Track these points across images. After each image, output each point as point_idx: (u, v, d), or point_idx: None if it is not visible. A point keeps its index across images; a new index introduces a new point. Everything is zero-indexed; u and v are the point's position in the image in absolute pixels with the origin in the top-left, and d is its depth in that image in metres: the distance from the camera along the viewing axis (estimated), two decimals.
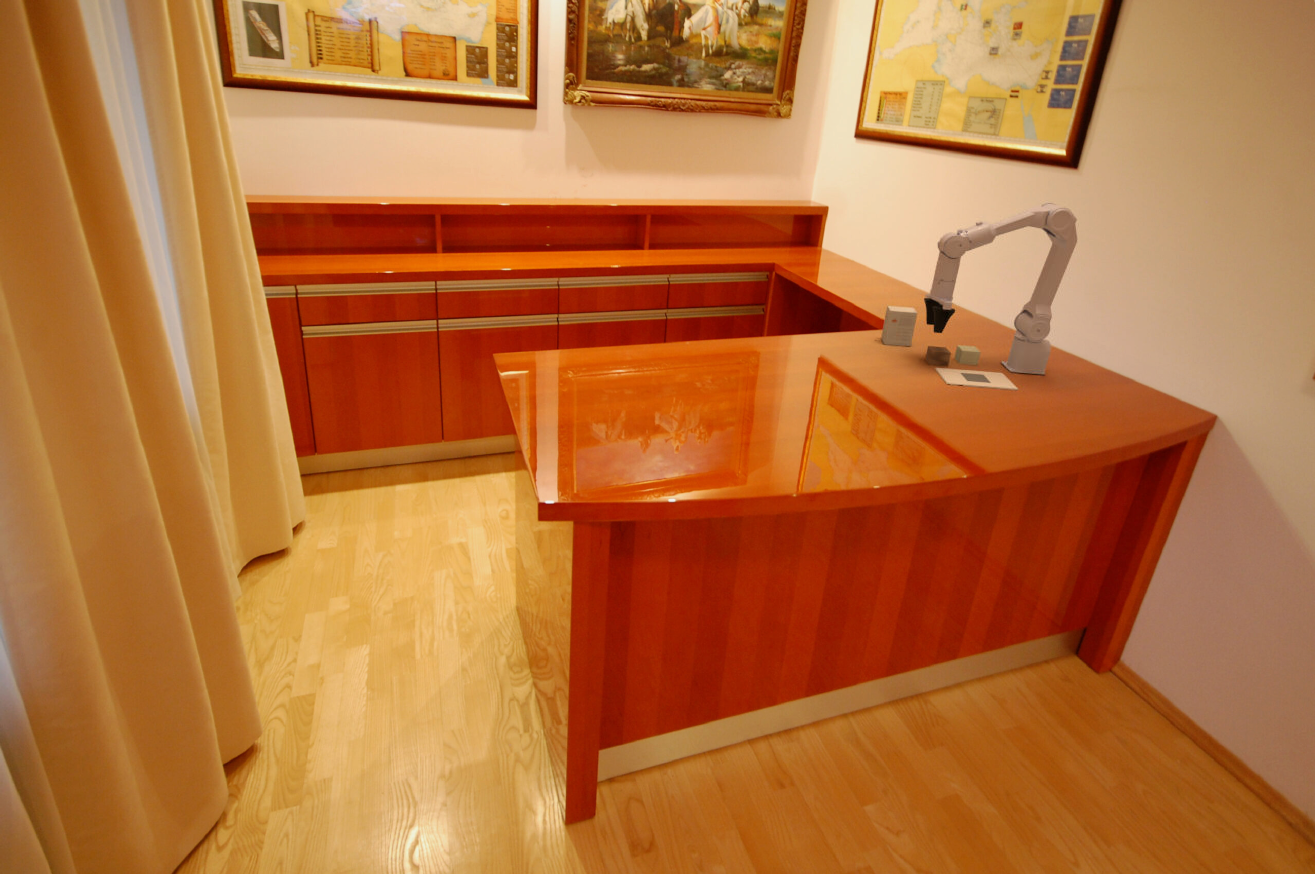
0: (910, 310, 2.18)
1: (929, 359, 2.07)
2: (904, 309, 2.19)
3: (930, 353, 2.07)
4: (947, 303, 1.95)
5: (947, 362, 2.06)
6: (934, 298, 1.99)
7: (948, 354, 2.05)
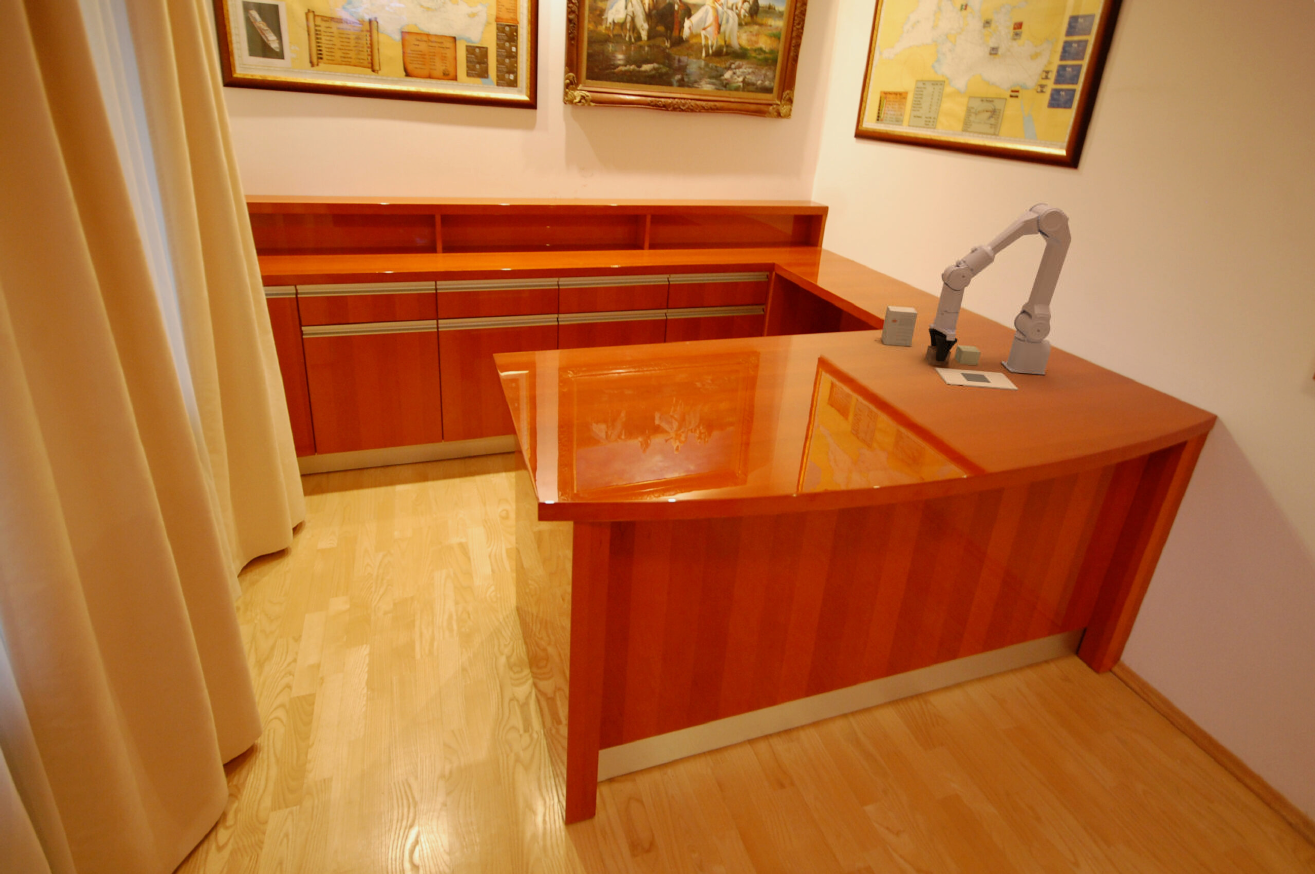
0: (910, 310, 2.18)
1: (929, 358, 2.07)
2: (904, 309, 2.19)
3: (930, 352, 2.07)
4: (951, 334, 1.98)
5: (947, 361, 2.06)
6: (938, 328, 2.03)
7: (948, 353, 2.05)
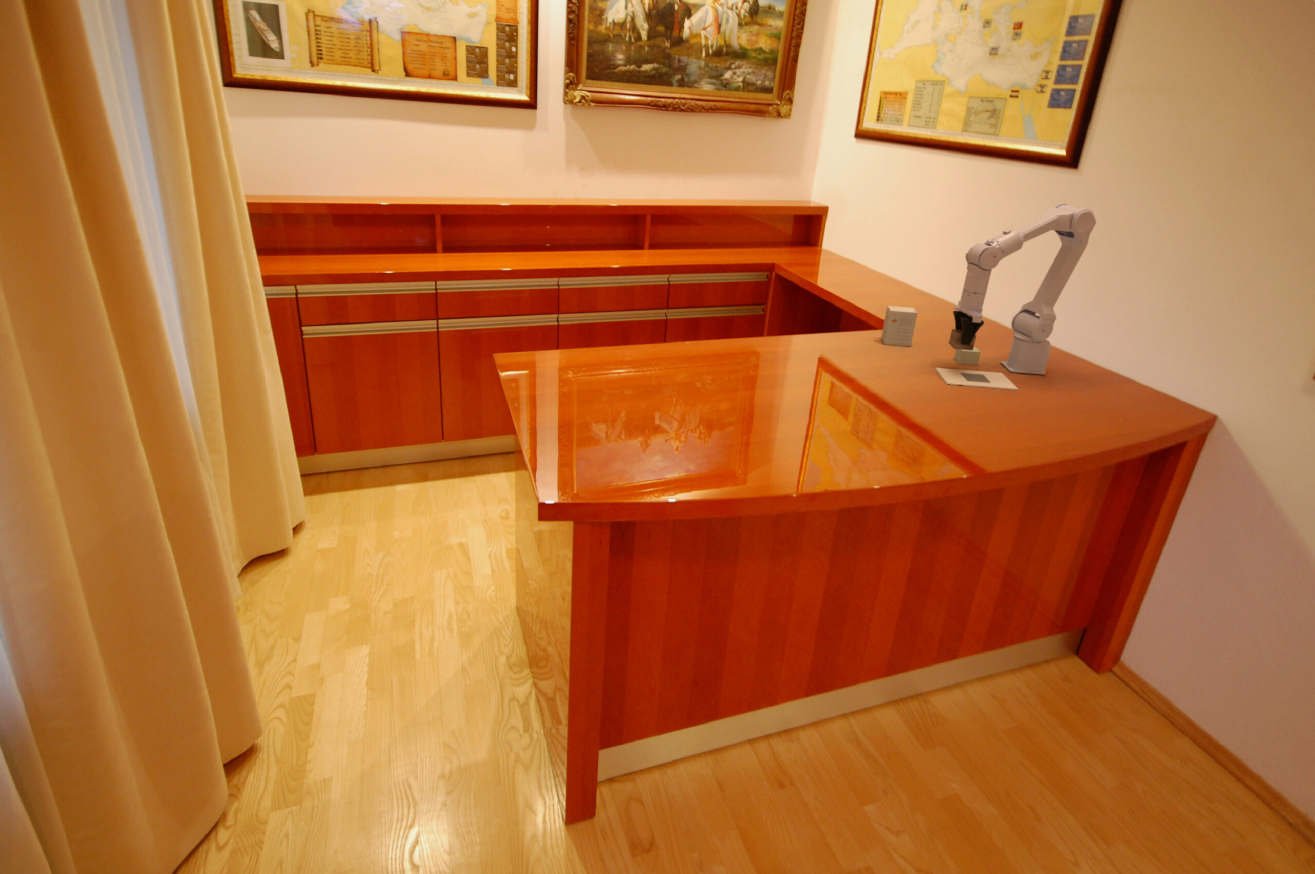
0: (910, 310, 2.18)
1: (953, 342, 1.99)
2: (904, 309, 2.19)
3: (954, 336, 1.99)
4: (977, 316, 1.90)
5: (972, 345, 1.98)
6: (963, 310, 1.94)
7: None
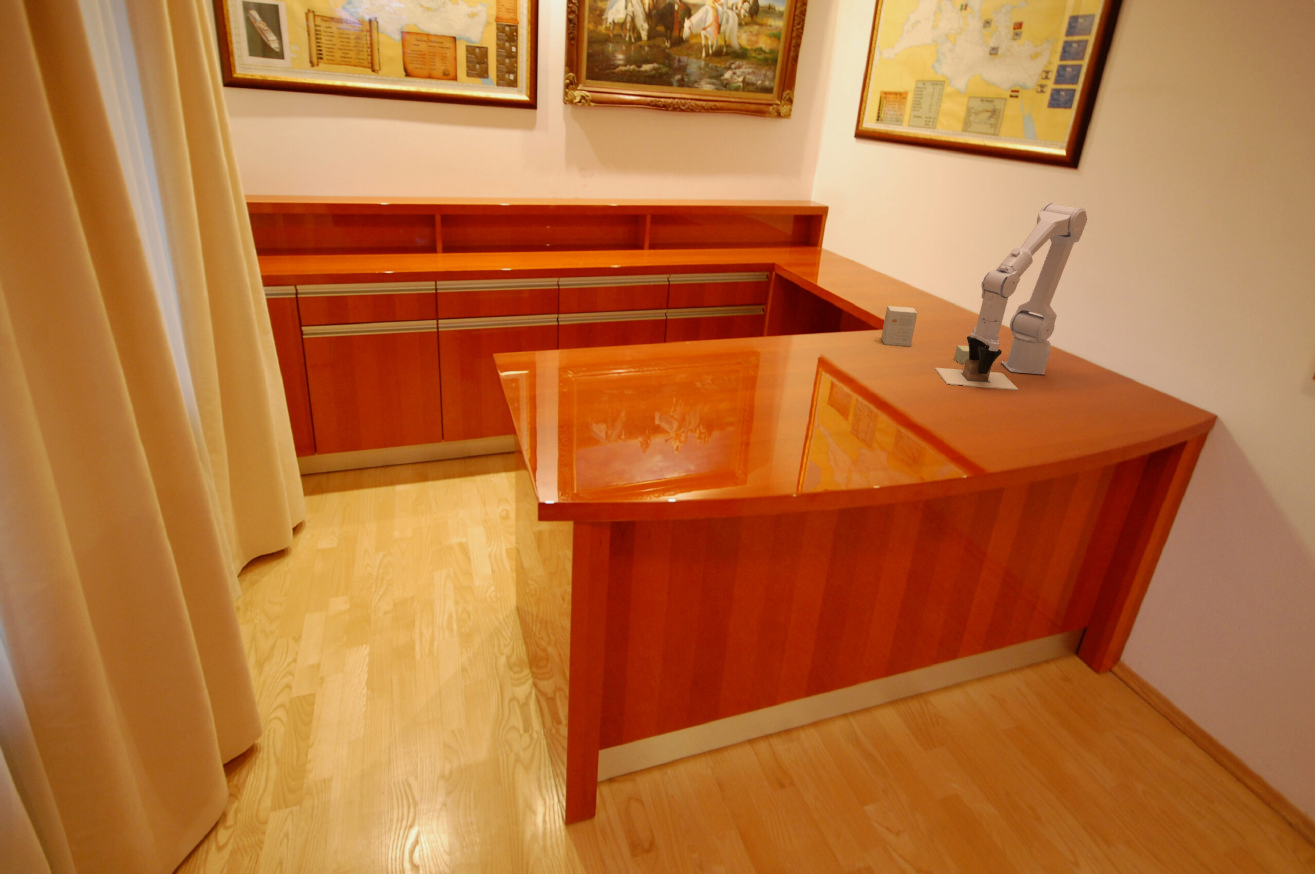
0: (910, 310, 2.18)
1: (968, 373, 1.96)
2: (904, 309, 2.19)
3: (969, 367, 1.96)
4: (994, 344, 1.86)
5: (987, 377, 1.95)
6: (979, 338, 1.91)
7: None
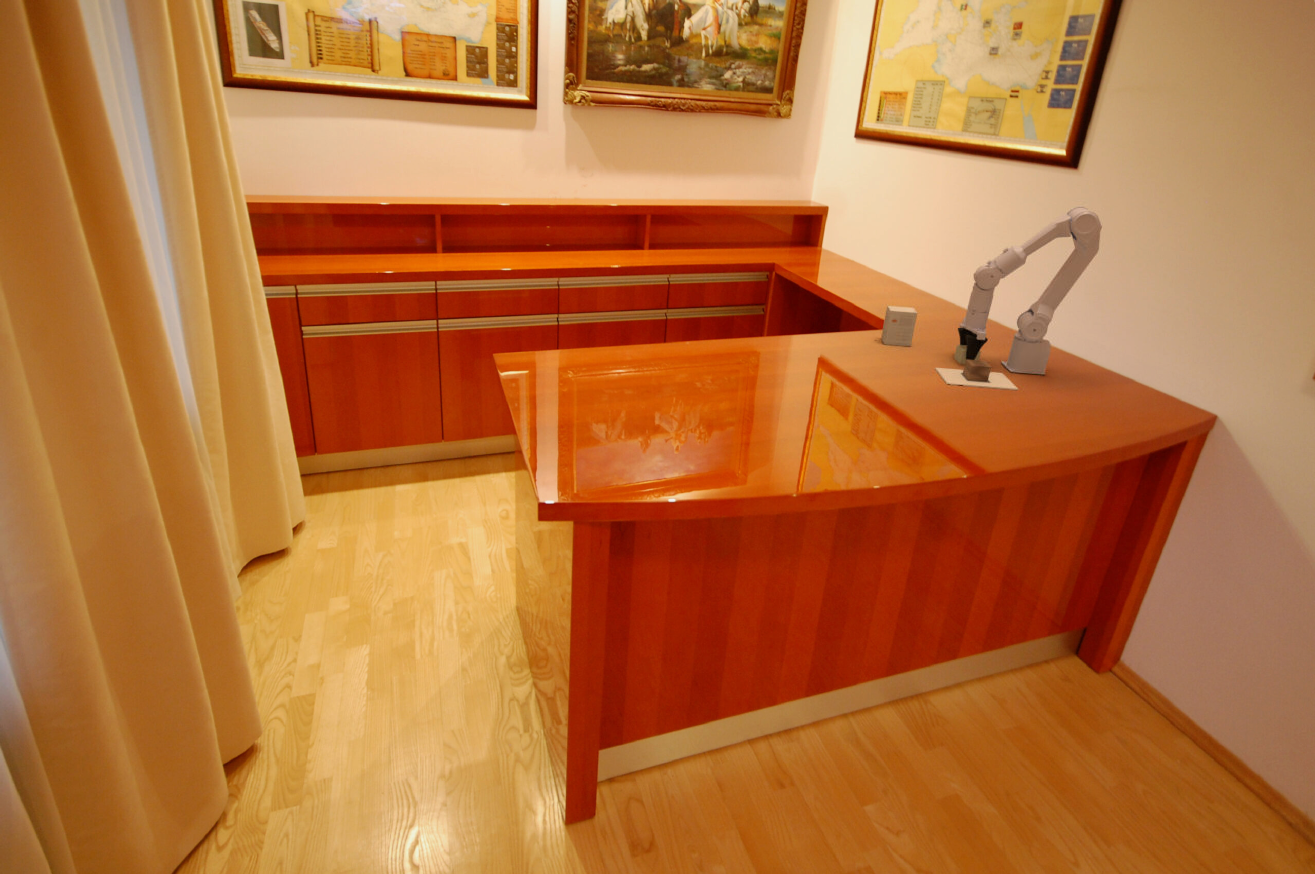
0: (910, 310, 2.18)
1: (968, 373, 1.96)
2: (904, 309, 2.19)
3: (969, 367, 1.96)
4: (981, 333, 2.00)
5: (987, 377, 1.95)
6: (968, 328, 2.05)
7: (988, 368, 1.94)
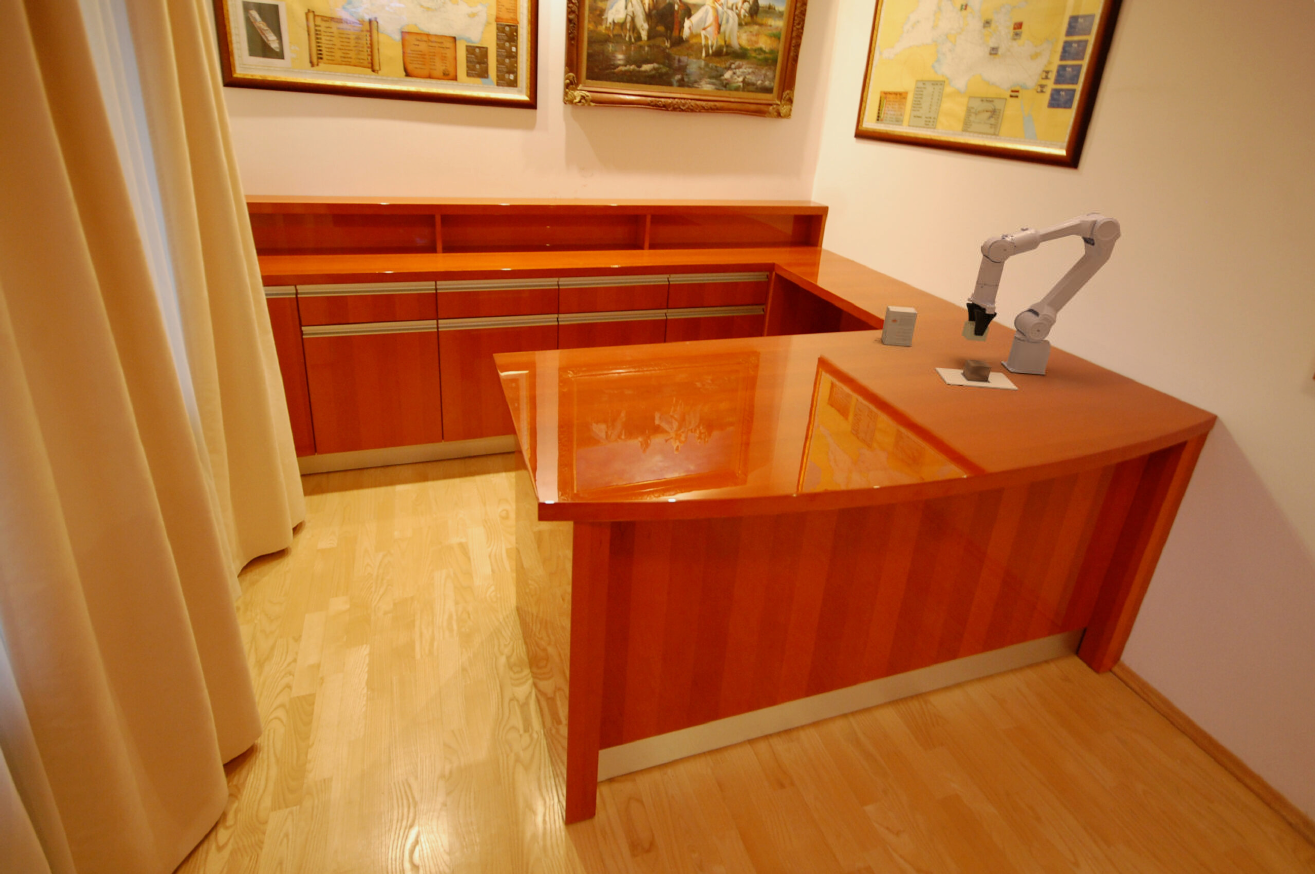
0: (910, 310, 2.18)
1: (968, 373, 1.96)
2: (904, 309, 2.19)
3: (969, 367, 1.96)
4: (990, 307, 1.94)
5: (987, 377, 1.95)
6: (977, 302, 1.99)
7: (988, 368, 1.94)
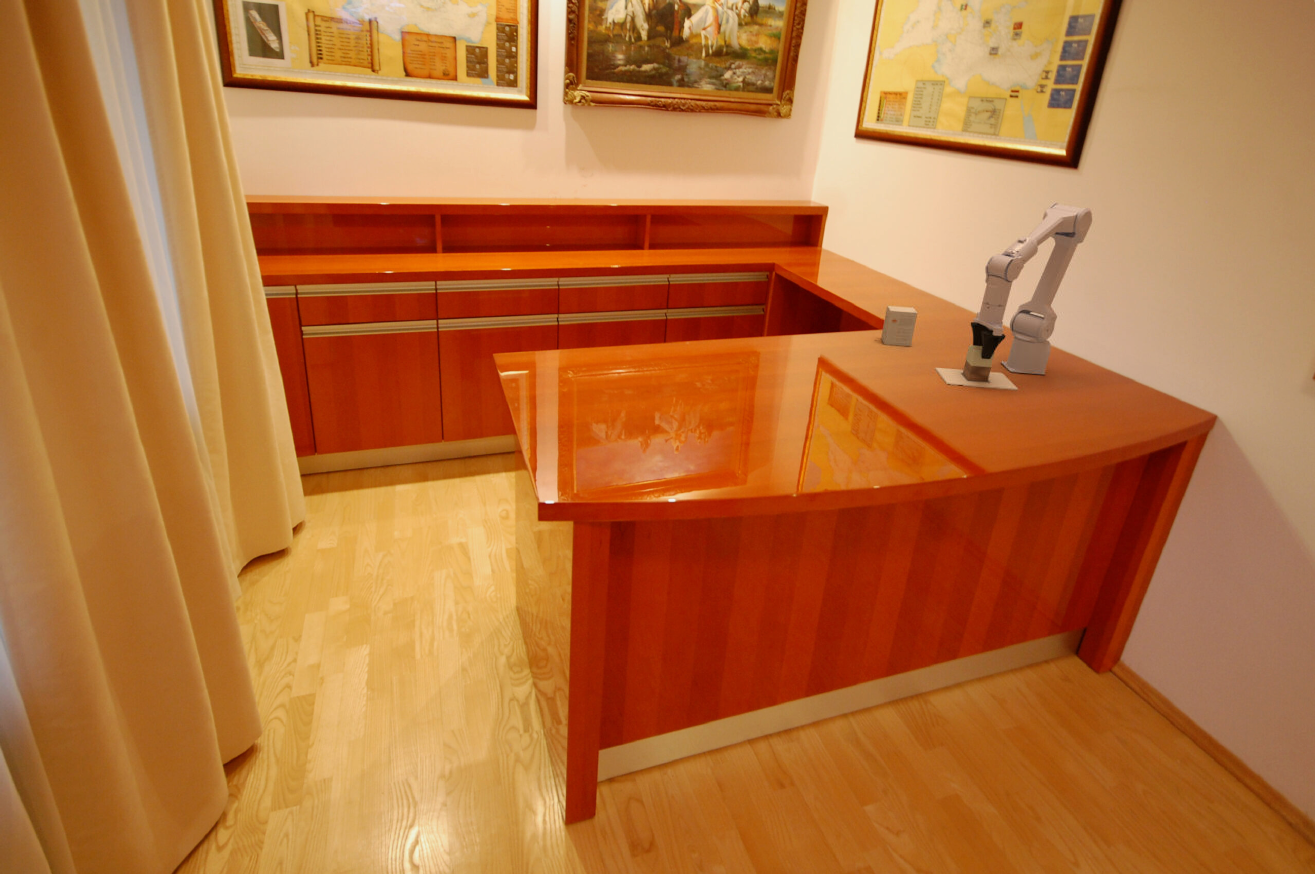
0: (910, 310, 2.18)
1: (968, 373, 1.96)
2: (904, 309, 2.19)
3: (969, 367, 1.96)
4: (998, 329, 1.85)
5: (987, 377, 1.95)
6: (983, 323, 1.89)
7: (988, 368, 1.94)
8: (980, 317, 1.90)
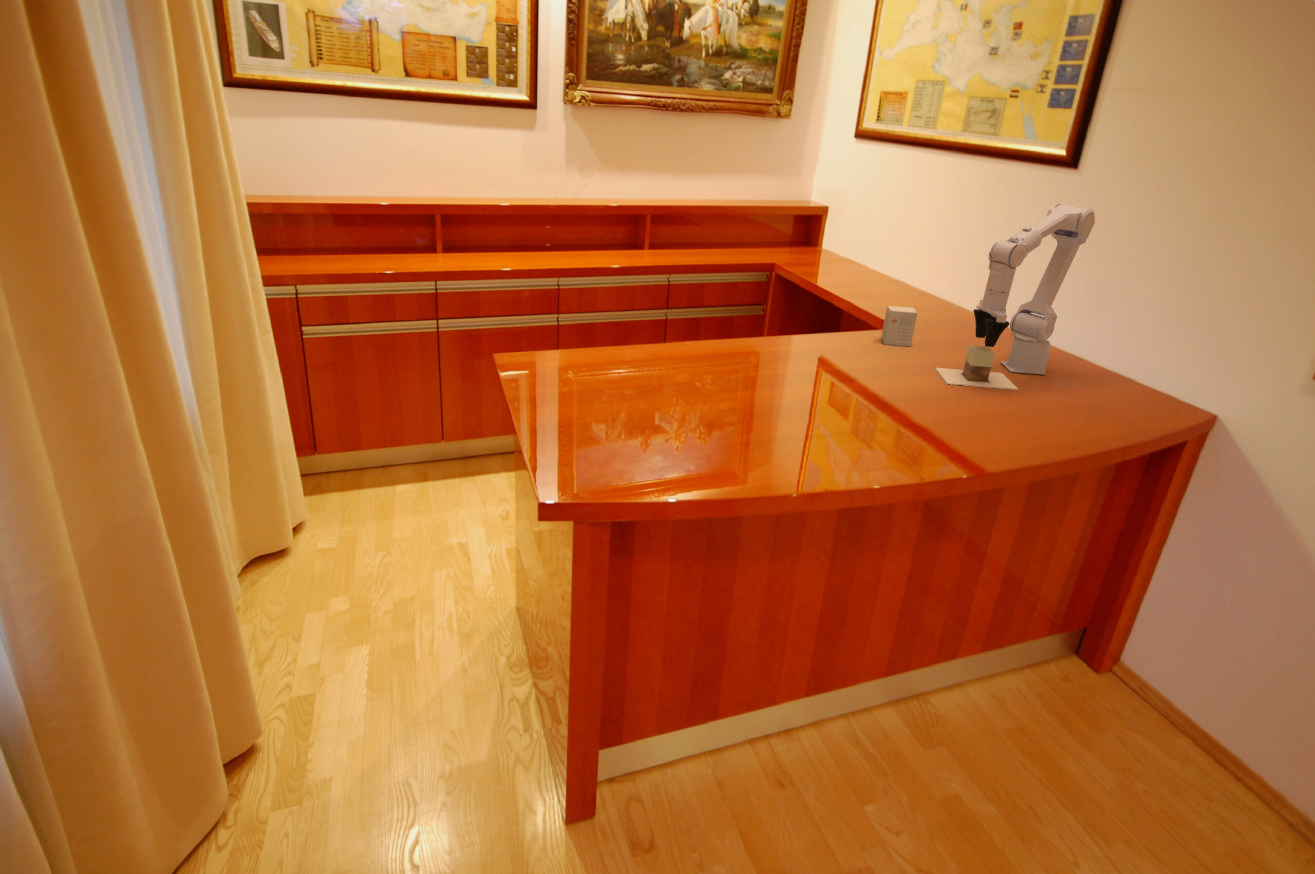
0: (910, 310, 2.18)
1: (968, 373, 1.96)
2: (904, 309, 2.19)
3: (969, 367, 1.96)
4: (1001, 316, 1.83)
5: (987, 377, 1.95)
6: (986, 310, 1.88)
7: (988, 368, 1.94)
8: (983, 304, 1.89)
